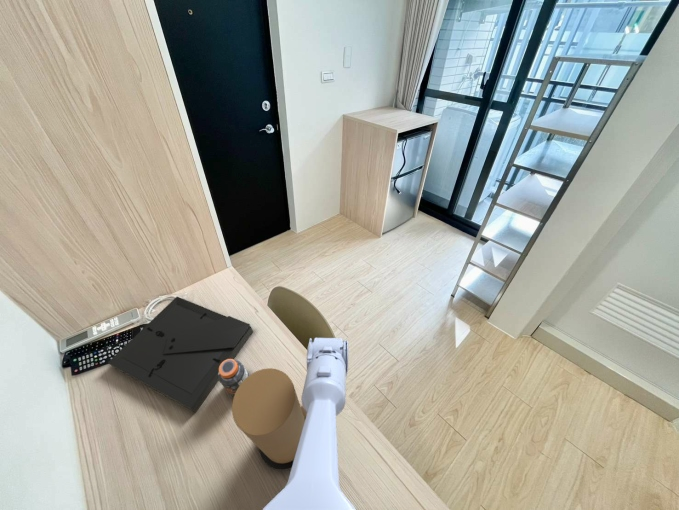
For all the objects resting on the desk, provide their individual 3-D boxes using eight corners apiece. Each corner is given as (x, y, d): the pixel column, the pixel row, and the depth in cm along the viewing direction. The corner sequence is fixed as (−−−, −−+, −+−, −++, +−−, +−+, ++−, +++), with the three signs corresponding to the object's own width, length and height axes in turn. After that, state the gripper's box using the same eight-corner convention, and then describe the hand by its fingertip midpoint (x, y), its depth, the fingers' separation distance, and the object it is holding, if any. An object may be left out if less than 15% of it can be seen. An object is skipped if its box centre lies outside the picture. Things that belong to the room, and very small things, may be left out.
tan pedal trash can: (338, 416, 63) (338, 374, 46) (278, 476, 55) (250, 452, 38) (312, 382, 68) (303, 334, 51) (254, 432, 60) (221, 395, 44)
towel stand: (305, 475, 56) (304, 475, 55) (250, 464, 57) (249, 463, 57) (317, 412, 65) (317, 411, 64) (269, 403, 66) (269, 402, 65)
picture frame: (253, 331, 80) (180, 302, 88) (250, 324, 77) (175, 294, 85) (195, 412, 65) (114, 367, 72) (189, 407, 62) (104, 360, 70)
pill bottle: (223, 392, 68) (207, 373, 60) (237, 370, 72) (225, 350, 64) (242, 401, 66) (229, 384, 58) (256, 378, 70) (246, 359, 62)
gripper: (317, 340, 55) (320, 367, 65) (298, 418, 45) (305, 438, 55) (351, 344, 55) (349, 372, 64) (340, 426, 44) (340, 444, 54)
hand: (331, 403), depth 59 cm, fingers closed
